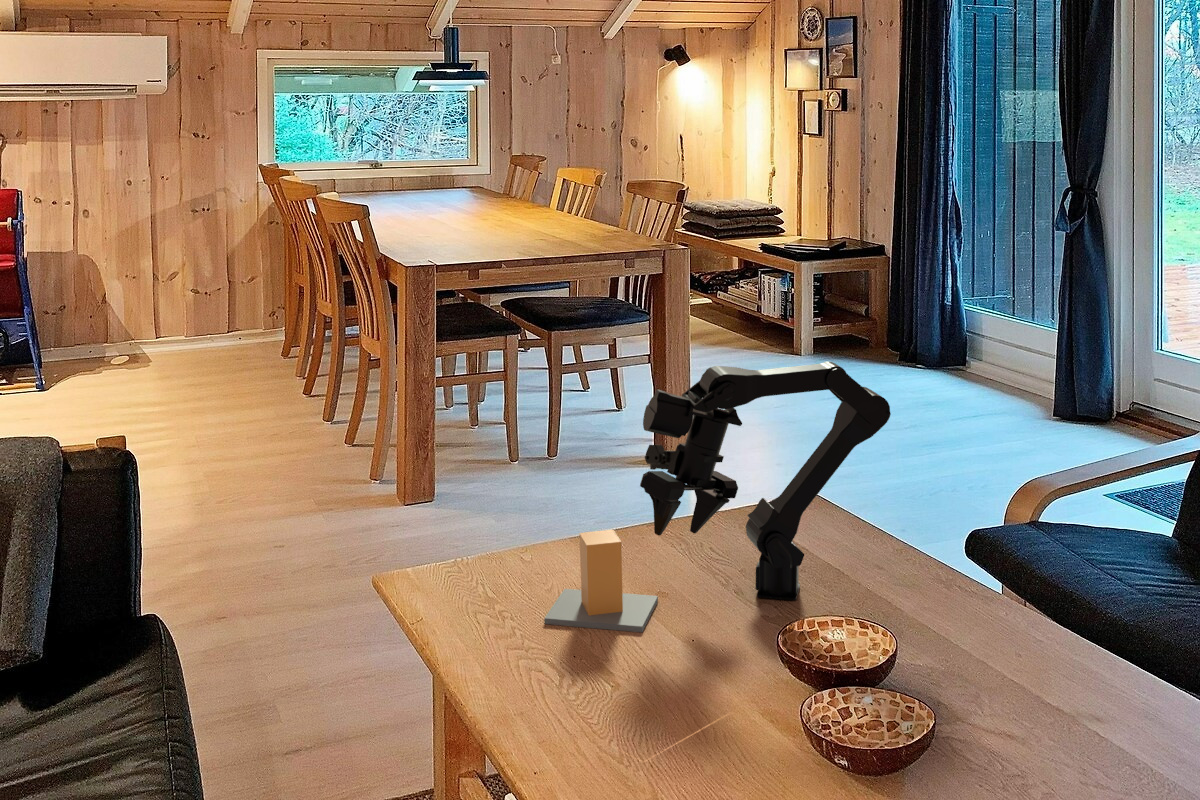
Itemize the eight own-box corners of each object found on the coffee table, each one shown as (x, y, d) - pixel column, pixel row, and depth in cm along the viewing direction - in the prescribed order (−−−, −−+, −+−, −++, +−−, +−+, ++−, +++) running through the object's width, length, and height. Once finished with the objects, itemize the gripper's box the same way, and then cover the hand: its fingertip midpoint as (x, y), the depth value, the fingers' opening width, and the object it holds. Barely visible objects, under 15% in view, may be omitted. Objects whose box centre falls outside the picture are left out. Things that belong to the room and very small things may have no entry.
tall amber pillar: (614, 597, 213) (613, 529, 210) (622, 611, 208) (621, 541, 205) (581, 601, 212) (579, 533, 209) (588, 615, 207) (586, 545, 204)
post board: (657, 601, 214) (657, 576, 213) (642, 632, 203) (641, 605, 201) (564, 594, 218) (564, 569, 217) (544, 623, 207) (543, 597, 205)
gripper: (701, 427, 220) (675, 512, 223) (630, 425, 206) (602, 515, 209) (751, 451, 212) (723, 538, 215) (681, 450, 199) (652, 543, 202)
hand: (675, 533), depth 211 cm, fingers open, 9 cm apart
